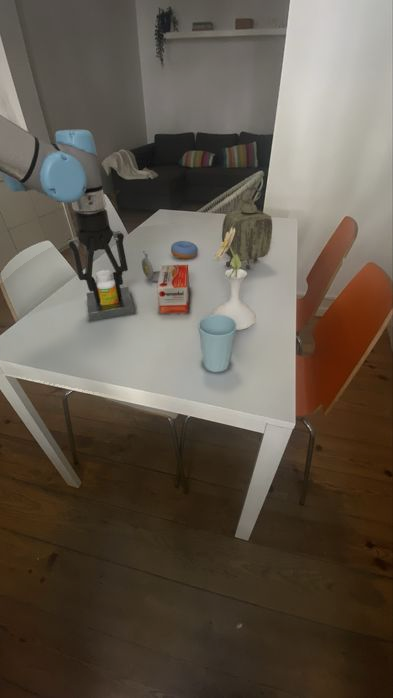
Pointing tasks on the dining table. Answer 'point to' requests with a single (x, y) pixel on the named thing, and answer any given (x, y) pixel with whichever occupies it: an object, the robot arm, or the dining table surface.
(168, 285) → the medicine box
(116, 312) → the bottle stand
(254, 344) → the dining table surface
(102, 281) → the supplement bottle
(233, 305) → the flower in vase
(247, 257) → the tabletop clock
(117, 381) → the dining table surface
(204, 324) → the cup
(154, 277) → the pocket watch
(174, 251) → the doughnut
